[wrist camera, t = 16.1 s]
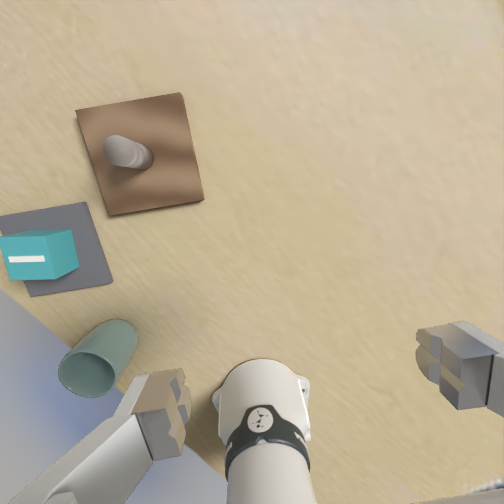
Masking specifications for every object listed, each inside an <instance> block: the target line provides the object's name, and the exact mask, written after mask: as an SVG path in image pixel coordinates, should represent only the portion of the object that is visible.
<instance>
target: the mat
mask: <svg viewBox="0 0 504 504" xmlns="http://www.w3.org/2000/svg"><path fill="white" fill-rule="evenodd" d="M66 229H71V231H72V236H73V240H74V245H75V250H76V254H77V259H78V263H79V268H77V269H75V270H73V271H71V272H69V273H67V274H65V275H63V276H61V277H59V278H57V279H44V280H23V281H24V283H25V285H26V287H27V290H28V292H29V294H30V296H31V297H33V296H39V295H45V294H51V293H57V292H63V291H69V290H75V289H81V288H87V287H93V286H99V285H105V284H110V283H112V282H113V278H112V276H111V273H110V270H109V267H108V264H107V261H106V258H105V255H104V252H103V249H102V246H101V244H100V241H99V238H98V235H97V232H96V229H95V226H94V223H93V220H92V217H91V214H90V212H89V209H88V206H87V203H86V202H81V203H75V204H69V205H63V206H57V207H52V208H46V209H40V210H34V211H28V212H22V213H16V214H10V215H4V216H0V230H1V232H2V234H3V236H6V235H10V234H15V233H20V232H24V231H29V230H66Z"/></svg>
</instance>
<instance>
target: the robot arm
mask: <svg viewBox="0 0 504 504" xmlns="http://www.w3.org/2000/svg"><path fill="white" fill-rule="evenodd" d="M416 340H417V341H418V342H419V344H420V345H419V347H418V348H417V350H416V361H417V364H418V367H419V369H420V370H421V372H422V373H423V375H424V376H425V377H426V378H427V379H428V380H429V381H431V382H433V383H436V384H438V385H439V390H440V393H441V394H442V395H443V396H444V397H445V398H446V399H447V400H448V401H449V402H450V403H451V404H452V405H453V406H454V407H455V408H456V409H457V410H464V409H471V408H479V407H486V406H487V408H488V409H490V410H492V411H493V412H495V413H497V414H499V415H501V416H502V417H504V343H503V342H501V341H500V340H498V339H496V338H495V337H493V336H491V335H490V334H488V333H486V332H485V331H483V330H481V329H480V328H478V327H476V326H475V325H473V324H471V323H470V322H466V321H459V322H454V323H449V324H446V325H440V326H434V327H428V328H422V329H418V331H417V333H416ZM185 378H186V377H185V374H184V371H183V369H181V368H179V369H172V370H165V371H157V372H152V373H145V374H138V375H137V376H136V377H134V379H133V381H132V383H131V384H130V386H129V388H128V390H127V392H126V393H125V395H124V397H123V399H122V400H121V402H120V404H119V406H118V408H117V410H116V411H115V413H114V415H113V417H112V418H109V419H106V420H105V421H104V422H102V423H101V424H100V425H99V426H98V427H96V428H95V429H94V430H93V431H92V432H91V433H89V434H88V435H87V436H86V437H85V438H83V439H82V440H81V441H80V442H79V443H78V444H76V445H75V446H74V447H73V448H72V449H70V450H69V451H68V452H67V453H66V454H65V455H63V456H62V457H61V458H60V459H59V460H57V461H56V462H55V463H54V464H53V465H52V466H50V467H49V468H48V469H47V470H46V471H44V472H43V473H42V474H41V475H40V476H38V477H37V478H36V479H35V480H34V481H33V482H32V483H30V484H29V485H28V486H27V487H25V488H24V489H23V490H22V491H21V492H20V493H18V494H17V495H16V496H15V497H14V498H12V499H11V501H10V502H9V503H8V504H124V503H125V501H126V500H127V499H128V497H129V496H130V495H131V493H132V492H133V490H134V489H135V487H136V486H137V485H138V483H139V482H140V480H141V479H142V478H143V476H144V475H145V473H146V472H147V470H148V469H149V468H150V467H151V465H152V464H153V462H152V461H156V460H161V459H166V458H171V457H177V456H181V454H182V449H183V445H184V441H185V436H186V431H185V428H184V425H185V424H186V423H187V422H188V420H189V418H190V413H191V395H190V391H189V388H188V387H187V386H185V385H184V382H185ZM309 388H310V385H309V380H308V379H307V378H305V377H303V376H300V375H297V374H295V373H294V372H292V371H291V370H290V369H289V368H288V367H287V366H285V365H284V364H282V363H280V362H277V361H274V360H269V359H256V360H251V361H247V362H245V363H243V364H241V365H239V366H237V367H236V368H235V369H233V370H232V371H231V372H230V374H229V375H228V376H227V378H226V380H225V382H224V384H223V385H222V387H220V388H219V389H218V390H216V391H215V392H214V393H213V395H212V402H213V404H214V406H215V408H216V410H217V412H218V414H219V424H218V435H219V437H220V438H221V440H222V442H223V443H224V445H225V446H226V453H225V476H226V479H227V482H228V487H227V504H317V501H316V497H315V494H314V490H313V486H312V482H311V478H310V474H309V473H310V461H309V453H308V448H307V445H306V443H305V442H310V441H311V435H310V422H309V417H308V413H307V405H308V396H309ZM411 504H504V488H503V489H496V490H490V491H484V492H478V493H472V494H466V495H460V496H454V497H447V498H441V499H435V500H429V501H423V502H417V503H411Z"/></svg>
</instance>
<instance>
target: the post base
mask: <svg viewBox="0 0 504 504" xmlns="http://www.w3.org/2000/svg"><path fill="white" fill-rule="evenodd" d="M75 112H76V115H77V118H78V121H79V124H80V127H81V130H82V133H83V136H84V139H85V142H86V146H87V149H88V152H89V155H90V158H91V161H92V164H93V167H94V170H95V173H96V176H97V180H98V183H99V186H100V189H101V192H102V195H103V198H104V201H105V204H106V207H107V211H108V214H109V216H111V215H117V214H122V213H128V212H134V211H140V210H146V209H152V208H158V207H164V206H170V205H176V204H182V203H188V202H194V201H200V200H204V194H203V189H202V185H201V180H200V175H199V171H198V166H197V161H196V156H195V152H194V147H193V142H192V137H191V133H190V128H189V123H188V119H187V114H186V109H185V104H184V100H183V96H182V94H181V93H180V92H179V93H173V94H167V95H161V96H155V97H150V98H144V99H138V100H132V101H126V102H120V103H114V104H108V105H103V106H97V107H91V108H85V109H79V110H75Z"/></svg>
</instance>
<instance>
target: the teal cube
mask: <svg viewBox="0 0 504 504" xmlns="http://www.w3.org/2000/svg"><path fill="white" fill-rule="evenodd" d="M0 247H1V251H2V254H3V257H4V261H5V264H6V267H7V271H8V274H9V277H10V280H44V279H57V278H59V277H61V276H63V275H65V274H67V273H69V272H71V271H73V270H75V269H77V268H79V263H78V259H77V254H76V250H75V245H74V240H73V236H72V231H71V229H66V230H29V231H24V232H20V233H15V234H10V235H6V236H1V237H0Z"/></svg>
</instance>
